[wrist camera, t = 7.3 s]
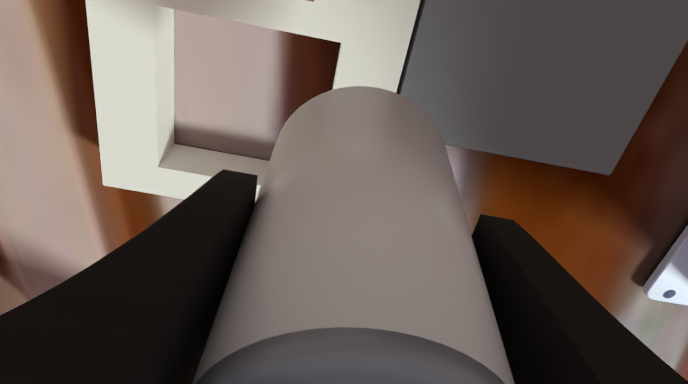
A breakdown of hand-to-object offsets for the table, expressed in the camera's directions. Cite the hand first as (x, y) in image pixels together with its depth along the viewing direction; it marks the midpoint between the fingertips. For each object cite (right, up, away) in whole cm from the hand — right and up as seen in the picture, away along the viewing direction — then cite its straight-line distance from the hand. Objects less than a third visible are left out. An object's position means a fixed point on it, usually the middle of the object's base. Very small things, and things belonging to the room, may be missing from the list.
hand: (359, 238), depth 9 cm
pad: (+6, +6, +7) cm, 11 cm away
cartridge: (0, +1, +2) cm, 3 cm away
